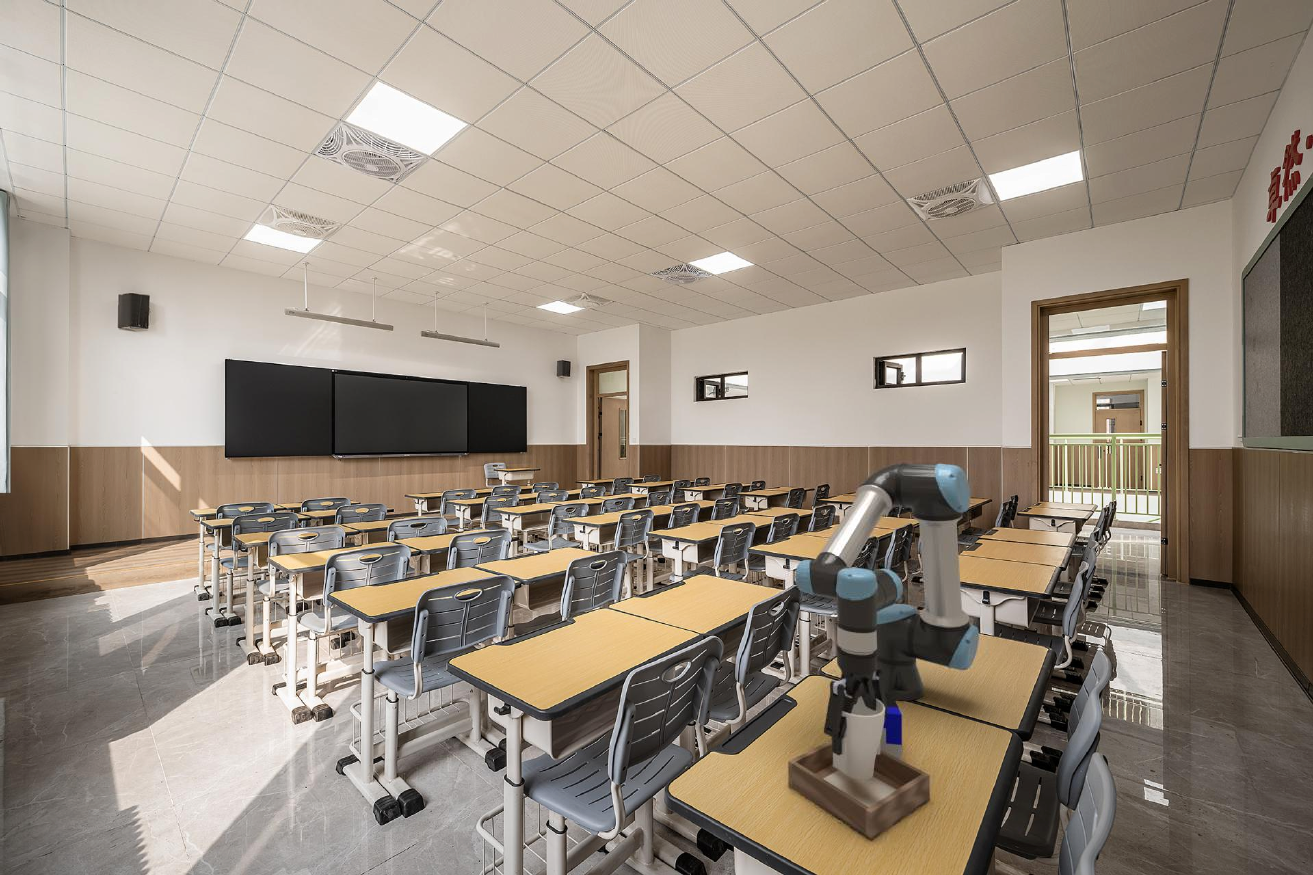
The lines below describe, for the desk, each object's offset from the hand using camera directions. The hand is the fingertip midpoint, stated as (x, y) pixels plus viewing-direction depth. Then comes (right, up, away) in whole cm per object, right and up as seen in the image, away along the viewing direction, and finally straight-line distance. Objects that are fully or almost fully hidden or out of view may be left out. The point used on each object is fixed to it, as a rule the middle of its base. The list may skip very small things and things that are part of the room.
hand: (857, 759), depth 111 cm
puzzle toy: (+10, -7, +17) cm, 21 cm away
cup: (0, -2, 0) cm, 2 cm away
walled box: (0, -7, 0) cm, 7 cm away
